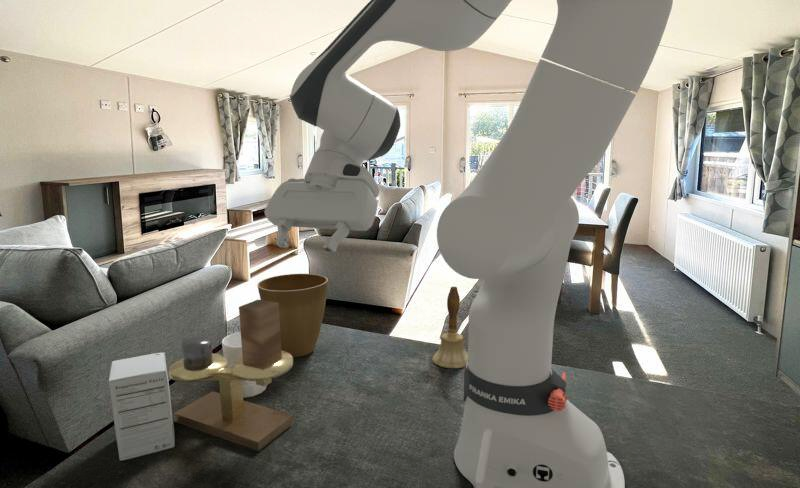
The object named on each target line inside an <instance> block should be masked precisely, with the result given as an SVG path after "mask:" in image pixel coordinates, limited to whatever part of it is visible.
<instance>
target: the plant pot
mask: <svg viewBox="0 0 800 488" xmlns="http://www.w3.org/2000/svg"><path fill="white" fill-rule="evenodd" d="M328 282H329V279H328V277H326V276H324V275H321V274H315V273H290V274H281V275H276V276H275V275H274V276H271V277H268V278H264V279H262V280H260V281H258V283H257V291H258V294H259V298H260V299H259V300H265V301H270V302H276V303H279V317H280V334H281V351H285V352H288V353H289V354H291V355H292V357H293V358H300V357H304V356H307V355H310V354H312V353H313V351H314V350H315V347H316V344H317V342H318V338H319V334H320V332H321V327H322V324H323V319H324V314H325V309H326V308H325V307H326V304H327V303H326V302H327V297H328V296H327V294H328V286H329V285H328V284H329V283H328Z"/></svg>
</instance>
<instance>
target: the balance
mask: <svg viewBox="0 0 800 488" xmlns="http://www.w3.org/2000/svg"><path fill="white" fill-rule="evenodd" d="M212 347H213V346H212V339H211V338H210V337H208V336H196V337H191V338H188V339H186V340H184V341H183V342H181V350H182V351H181V352H182V358H180V359H178V360H176V361H175V362H173V363H172V364H170V366H169V367H168V369H167V372H168V378H170V379H171V380H173V381H176V382H180V383H193V382H195V383H196V382H201V381H218V383H219V384H218V385H219V392H216V391H211V392H209V393H206V394H205V395H204V396H202V397H200V398H198V399H196V400H194V401H193V402H191V403H189V404H187V405H186V406H184V407H182V408H180V409H179V410H177V411H175V412H174V413H173V423H177V424H180V425H182V426H183V425H184V426H186V427H188V428H191V429H194V430H196V431H197V430H198V431H200V432H203V433H206V434H209V435H211V436H214V437H217V438H219V439H223V440H225V441H228V442H232V443H234V444H237V445H240V446H243V447H245V448H247V449H248V448H249V449H251V450H254V451H256V452H260V451H261V450H262V449H264V448H265V447H267V446H268V445H269V444H270V443H271V442H273V441H274V440H276V438H277V437H280V435H281V434H283V433H284V432H285V431H286V430H287V429H289V428H290V427H291V426H293V425H294V424H295V421H294V415H293V414H291V413H287V412H284V411H282V410H277V409H275V408H274V409H273V408H270V407H267V406H263V405H260V404H258V403H254V402H252V401H251V402H250V401H248V400H247V401H246V400H244V398H243V390H242V381H256V384H257V385H260V386H266V385H267V386H268V385H269V384H271V383H272V379H275V378H277V377H280V376H283V375H284V374H287V373H288V372H289V371H291V369H292V368H293V365H294V357H292V355H291V354H289V353H288V352H285V351H281V352H282V359H281V360H280V361H278V362H276V363H274V364H273V365H271V366H269V367H268V368H266V369H264V370H263V369H259V368H255V367H251V366H247V365H243V357H242V356H240V357H238V358H237V359H235V360H234V361H233V362H232V364H231V368H227V367H228V361H227V358H226V357H225V356H224V355H223V354H221V353H213V350H212V349H213V348H212Z"/></svg>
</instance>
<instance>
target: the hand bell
mask: <svg viewBox="0 0 800 488" xmlns="http://www.w3.org/2000/svg"><path fill="white" fill-rule="evenodd" d="M446 301H447V302H446V307H447V312H448V317H449V318H448V330H447V332H445V333H443V334H442V335H441V338H440V345H439V348H438V350H437V352H435V353H434V355H433V356H432V359H431V360H432V362H433V364H434V365H436V366H439V367H442V368H444V369H445V368H446V369H461V368H462V369H463V368H464V367H465V363H466V362H468V351H466V348H465V343H464V337H463V335H462V334H460V333H458V332H457V328H458V327H457V325H458V324H457V322H458V321H457V317H458V313H459V310H460V303H461V302H460V301H461V299H460V295H459V290H458V287H457V286H451V287H450V289H449V292H448V295H447V300H446Z"/></svg>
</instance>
